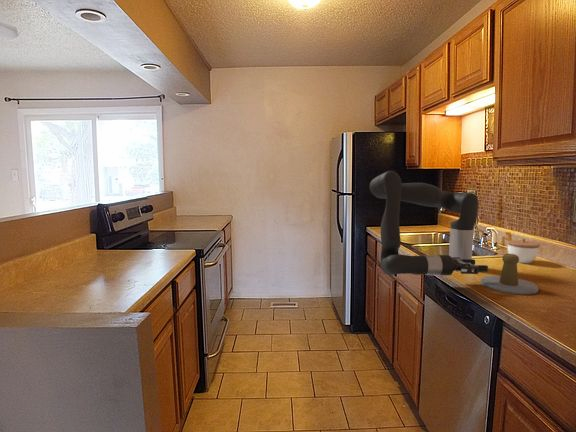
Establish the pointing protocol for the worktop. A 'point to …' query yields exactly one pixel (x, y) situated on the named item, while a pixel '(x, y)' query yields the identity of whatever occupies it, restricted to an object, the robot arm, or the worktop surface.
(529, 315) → the worktop surface
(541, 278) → the worktop surface
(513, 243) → the lidded bowl
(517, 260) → the cork
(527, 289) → the slate plate
